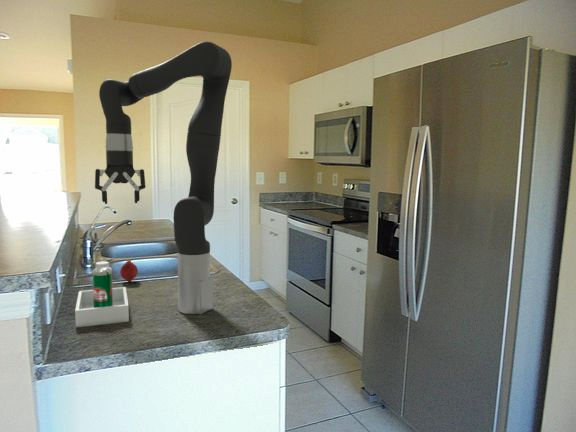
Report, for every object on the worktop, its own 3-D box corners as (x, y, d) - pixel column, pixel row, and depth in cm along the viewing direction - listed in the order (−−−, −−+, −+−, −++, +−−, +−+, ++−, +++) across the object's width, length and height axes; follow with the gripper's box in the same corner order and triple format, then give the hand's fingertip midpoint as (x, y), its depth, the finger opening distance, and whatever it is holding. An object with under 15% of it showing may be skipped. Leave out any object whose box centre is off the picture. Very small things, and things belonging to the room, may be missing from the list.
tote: (126, 301, 138) (125, 287, 137) (128, 321, 121) (128, 305, 120) (79, 305, 133) (79, 291, 132) (75, 327, 116) (75, 310, 116)
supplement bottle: (108, 289, 149) (107, 259, 148) (115, 293, 145) (114, 262, 144) (91, 293, 145) (90, 262, 144) (98, 297, 141) (96, 265, 140)
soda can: (89, 313, 125) (88, 271, 123) (100, 307, 130) (99, 267, 128) (106, 314, 124) (105, 272, 122) (116, 308, 129) (115, 268, 127)
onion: (132, 284, 155) (131, 262, 154) (117, 283, 156) (116, 261, 155) (140, 280, 161) (140, 258, 160) (126, 279, 162) (125, 257, 161)
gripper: (143, 150, 140) (144, 201, 142) (93, 149, 134) (95, 202, 137) (145, 150, 133) (146, 204, 135) (93, 148, 128) (95, 205, 130)
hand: (121, 203), depth 136 cm, fingers open, 8 cm apart
